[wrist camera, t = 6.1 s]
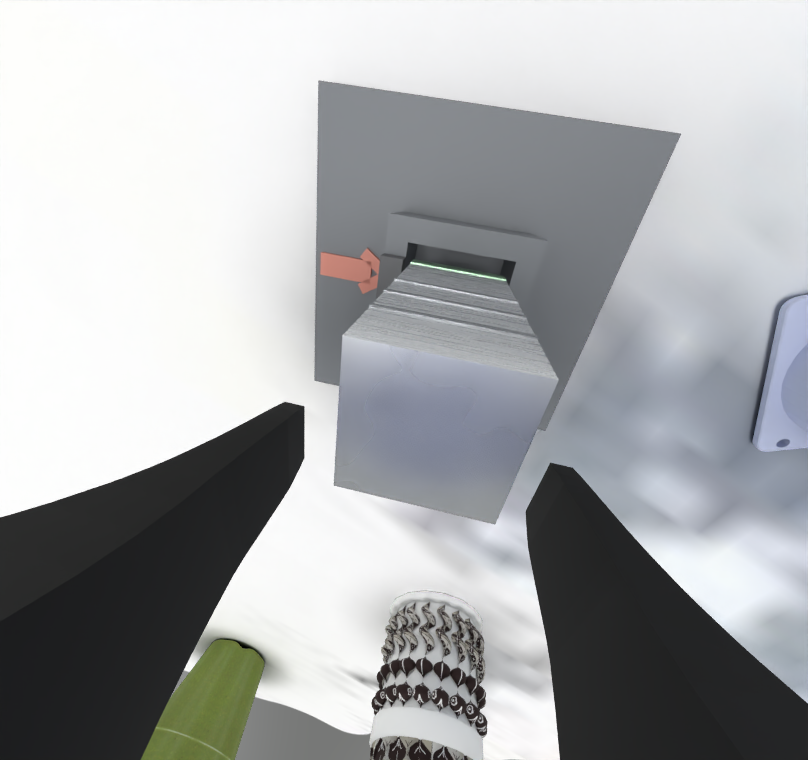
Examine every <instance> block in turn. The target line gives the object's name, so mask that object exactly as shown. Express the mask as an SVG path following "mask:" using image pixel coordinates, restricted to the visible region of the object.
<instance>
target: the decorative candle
mask: <svg viewBox="0 0 808 760" xmlns="http://www.w3.org/2000/svg"><path fill="white" fill-rule="evenodd" d="M390 614H391V618H390V619H389V623H390V625H388V626H386V628H385V630H386V633H387V634H388V636H387V638H386V640H385V645H384V646H383V647H382V649H381V652H382V654H383V656H384V657H383V661H384V663H385V665H383V666H382V667H381V670H380V672H378V674H377V680H378V682H379V688H380V690H379V691H378V692H377V693H376V696H375V697H374V698H373V699H372V707H373V709H374V714H375V716H374V719H373V725H372V731H371V736H370V742H369V744H370V747H371V753H370V760H483V739H482V738H483V737H485V736H486V734H487V720H486V718H485V716H484V715H483V714H481V713H480V712H479V711H480V709H482V708H483V707H484V706H485V704H486V700H485V697H486V692H485V690H484V689H483V688H482V687H481V686H479V684H480V683H481V682H482V681H483V679H484V676H485V662H484V659H483V657H482V656H483V653H484V640H483V637H482V635H481V633H482V619H481V618H480V616H479V614H478V613H477V611H476V610H475V609H474V608H473V607H471V606H470V605H468V604H467V603H465V602H464V601H463V600H461V599H458V598H455V597H452V596H450V595H447V594H444V593H438V592H430V591H419V592H410V593H406V594H404V595H402V596H400V597H398V598H396V599H395V601H394V602H393V604H392V606H391V608H390Z"/></svg>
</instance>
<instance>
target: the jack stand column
mask: <svg viewBox="0 0 808 760" xmlns="http://www.w3.org/2000/svg"><path fill="white" fill-rule="evenodd" d="M538 339H539V338H538V336H537V335H535V334H534V332H533V330H532V329H531V327H530V325H529V323H528V321H527V316H526V315H524V313H523V312H522V310H521V308H520V306H519V301H517V300H516V298H515V297H514V295H513V293H512V291H511V289H510V287H509V285H508V283H507V279H506V278H505V276H501V275H496V274H491V273H485V272H480V271H474V270H469V269H464V268H458V267H453V266H447V265H442V264H436V263H431V262H426V261H420V260H415V259H413V260H412V261H411V263H410V265H409V266H408V267H407V268H406V269H405V270H404V271H403V272H402V273H401V274H400V275H399V276H398V277H397V278H395V279H394V281H393V282H392V284H391V285H390V286H389V287H388V288H385V289H384V292H383V293H382V294H381V295H380V296H379V297H378V298H377V299H376V300H375V302H374V303H370V305H369V308H368V309H367V310H366V311H365V312H364V313H363V314H362V315H361V316H360V317H359V318H358V320H357V321H356V322H355V323H354V324H353V325H352V326H351V327H350V328H349V329H348V330H347V331H346V332H345V333H344V334H343V335H342V352H341V369H340V387H339V404H338V421H337V439H336V456H335V473H334V486H338V487H342V488H346V489H351V490H355V491H359V492H363V493H367V494H371V495H375V496H380V497H384V498H388V499H392V500H396V501H400V502H404V503H409V504H413V505H417V506H421V507H425V508H429V509H433V510H438V511H442V512H446V513H450V514H454V515H458V516H462V517H467V518H471V519H475V520H479V521H483V522H487V523H491V524H495V523H496V521H497V519H498V517H499V514H500V512H501V510H502V508H503V505H504V503H505V501H506V498H507V496H508V494H509V492H510V489H511V487H512V485H513V483H514V480H515V478H516V476H517V474H518V471H519V469H520V467H521V464H522V462H523V460H524V458H525V455H526V453H527V451H528V449H529V446H530V444H531V442H532V440H533V437H534V435H535V433H536V430H537V428H538V426H539V424H540V421H541V419H542V417H543V415H544V412H545V410H546V408H547V406H548V403H549V401H550V399H551V397H552V394H553V392H554V390H555V387H556V385H557V383H558V381H559V379H558V377H557V376H556V374H555V372H554V370H553V368H552V366H551V364H550V362H549V361H548V359H547V357H546V355H545V353H544V351H543V349H542V347H541V345H540V344H539V342H538Z"/></svg>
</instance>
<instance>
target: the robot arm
mask: <svg viewBox="0 0 808 760" xmlns="http://www.w3.org/2000/svg"><path fill="white" fill-rule="evenodd" d="M780 440H781V441H780ZM778 441H779V442H778ZM753 445H754V446H755V447H756V448H758V449H759V450H760V451H763V452H769V451H780V450H791V449H802V448H808V294H807V295H802V296H797V297H794V298H791V299H789V300H788V301H786V302H785V303H784V304H783V305H782V307H781V309H780V311H779V316H778V321H777V326H776V331H775V335H774V340H773V345H772V350H771V355H770V360H769V364H768V369H767V374H766V379H765V384H764V389H763V394H762V398H761V403H760V408H759V413H758V418H757V423H756V427H755V432H754V437H753ZM303 460H304V406H300V405H296V404H292V403H287V402H284V403H282V404H280V405H277V406H276V407H274V408H272V409H270V410H268V411H266V412H264V413H262V414H260V415H258V416H257V417H255V418H253V419H251V420H249V421H247V422H245V423H243V424H241V425H240V426H238V427H236V428H234V429H232V430H230V431H228V432H226V433H224V434H222V435H220V436H218V437H216V438H214V439H212V440H210V441H208V442H206V443H204V444H201V445H199V446H197V447H195V448H193V449H191V450H189V451H187V452H184V453H182V454H180V455H178V456H176V457H174V458H171V459H169V460H167V461H164V462H162V463H160V464H157V465H155V466H152V467H150V468H147V469H145V470H142V471H140V472H137V473H135V474H132V475H129V476H127V477H124V478H122V479H119V480H116V481H114V482H111V483H108V484H105V485H102V486H99V487H96V488H93V489H90V490H87V491H84V492H81V493H78V494H75V495H72V496H69V497H66V498H63V499H60V500H57V501H54V502H51V503H48V504H45V505H41V506H38V507H35V508H31V509H28V510H25V511H21V512H18V513H15V514H11V515H8V516H4V517H0V760H141V758H142V756H143V754H144V752H145V750H146V747H147V745H148V743H149V741H150V739H151V737H152V735H153V732H154V730H155V728H156V726H157V724H158V722H159V719H160V717H161V715H162V713H163V711H164V709H165V707H166V705H167V703H168V701H169V699H170V697H171V695H172V693H173V691H174V689H175V687H176V685H177V682H178V681H179V678H180V676H181V674H182V672H183V670H184V668H185V666H186V664H187V662H188V660H189V658H190V656H191V654H192V652H193V650H194V649H195V647H196V645H197V643H198V641H199V639H200V637H201V635H202V633H203V631H204V629H205V627H206V625H207V623H208V621H209V619H210V618H211V616H212V614H213V612H214V610H215V608H216V606H217V604H218V603H219V601H220V599H221V597H222V595H223V593H224V591H225V590H226V588H227V586H228V584H229V582H230V580H231V578H232V577H233V575H234V573H235V572H236V570H237V568H238V567H239V565H240V563H241V562H242V560H243V558H244V557H245V555H246V554H247V552H248V551H249V549H250V548H251V546H252V545H253V543H254V542H255V540H256V539H257V537H258V536H259V534H260V533H261V531H262V530H263V528H264V527H265V525H266V524H267V522H268V520H269V519H270V517H271V516H272V514H273V513H274V511H275V510H276V508H277V507H278V505H279V504H280V502H281V501H282V499H283V498H284V496H285V494H286V493H287V491H288V490H289V488H290V486H291V484H292V482H293V480H294V478H295V476H296V474H297V472H298V470H299V468H300V466H301V464H302V462H303ZM526 525H527V539H528V549H529V554H530V560H531V565H532V570H533V575H534V580H535V585H536V590H537V595H538V600H539V605H540V610H541V615H542V620H543V625H544V630H545V634H546V640H547V646H548V652H549V658H550V665H551V674H552V683H553V692H554V701H555V710H556V720H557V731H558V742H559V753H560V760H808V703H806V702H805V701H804V700H803V699H802V698H801V697H800V696H798V695H797V694H796V693H795V692H794V691H793V690H791V689H790V688H789V687H788V686H787V685H786V684H785V683H783V682H782V681H781V680H780V679H779V678H778V677H776V676H775V675H774V674H773V673H772V672H771V671H770V670H768V669H767V668H766V667H765V666H764V665H763V664H762V663H760V662H759V661H758V660H757V659H756V658H755V657H754V656H753V655H752V654H750V653H749V652H748V651H747V650H746V649H745V648H744V647H743V646H742V645H740V644H739V643H738V642H737V641H736V640H735V639H734V638H733V637H732V636H731V635H730V634H729V633H728V632H727V631H725V630H724V629H723V628H722V627H721V626H720V625H719V624H718V623H717V622H716V621H715V620H714V619H713V618H712V617H711V616H710V615H709V614H708V613H706V612H705V611H704V610H703V609H702V608H701V607H700V606H699V605H698V604H697V603H696V602H695V601H694V600H693V599H692V598H691V597H690V596H689V595H688V594H687V593H686V592H685V591H684V590H683V589H682V588H681V587H680V586H679V585H678V584H677V583H676V582H675V581H674V580H673V579H672V578H671V577H670V576H669V575H668V574H667V572H666V571H665V570H664V569H663V568H662V567H661V566H660V565H659V564H658V563H657V562H656V561H655V560H654V559H653V558H652V557H651V556H650V555H649V553H648V552H647V551H646V550H645V549H644V548H643V547H642V546H641V545H640V544H639V543H638V541H637V540H636V539H635V538H634V537H633V536H632V535H631V534H630V533H629V531H628V530H627V529H626V528H625V527H624V526H623V525H622V523H621V522H620V521H619V520H618V519H617V518H616V517H615V515H614V514H613V513H612V512H611V511H610V510H609V508H608V507H607V506H606V505H605V504H604V503H603V502H602V500H601V499H600V498H599V497H598V496H597V495H596V493H595V492H594V491H593V490H592V489H591V488H590V486H589V485H588V484H587V483H586V482H585V481H584V480H583V478H582V477H581V476H580V475H579V474H578V473H577V472H576V471H575V470H574V469H573V468H571V467H567V466H562V465H558V464H554V463H550V465H549V467H548V469H547V471H546V473H545V475H544V477H543V478H542V480H541V482H540V484H539V486H538V488H537V490H536V492H535V494H534V496H533V498H532V500H531V502H530V504H529V506H528V508H527V510H526Z"/></svg>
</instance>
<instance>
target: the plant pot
mask: <svg viewBox="0 0 808 760" xmlns="http://www.w3.org/2000/svg"><path fill="white" fill-rule="evenodd" d="M263 669H264V661H263V659H262V657H260V656H259V655H258V653H257V652H256V651H255V650H253V649H250V648H249V649H244V648H242V647H241V646H240V645H239V643H237V642H236V641H233V640H223V639H221V640H216V641H214V642H213V643H212V644H211V645H210V646H209V648H208V649H207V650H206V651H205V653H204V654H203V655H202V657H201V658H200V659H199V661H198V662H197V663H196V665H195V666H194V667H193V669H192V670H191V671H190V673H189V674H188V675H187V677H186V678H185V679H184V681H183V682H182V683H181V684H180V686H179V687H178V689H177V690H176V691H175V692H174V694H173V695H172V697H171V698H170V699H169V701H168V703H167V705H166V707H165V709H164V711H163V713H162V715H161V717H160V719H159V722H158V724H157V726H156V728H155V730H154V732H153V735H152V737H151V739H150V741H149V743H148V745H147V747H146V750H145V752H144V754H143V756H142V758H141V760H235V757H236V754H237V751H238V747H239V744H240V741H241V738H242V735H243V731H244V728H245V725H246V722H247V719H248V716H249V713H250V710H251V707H252V703H253V700H254V697H255V694H256V691H257V688H258V685H259V682H260V679H261V675H262V672H263Z"/></svg>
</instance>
